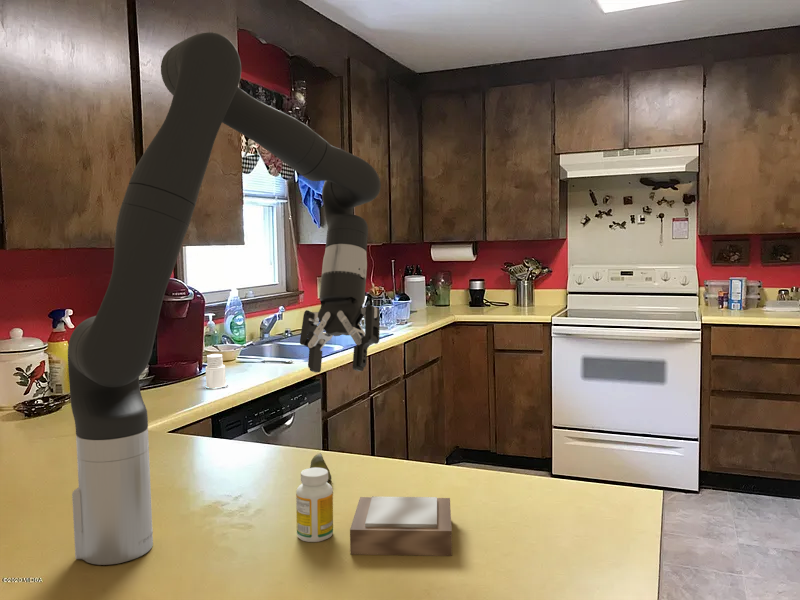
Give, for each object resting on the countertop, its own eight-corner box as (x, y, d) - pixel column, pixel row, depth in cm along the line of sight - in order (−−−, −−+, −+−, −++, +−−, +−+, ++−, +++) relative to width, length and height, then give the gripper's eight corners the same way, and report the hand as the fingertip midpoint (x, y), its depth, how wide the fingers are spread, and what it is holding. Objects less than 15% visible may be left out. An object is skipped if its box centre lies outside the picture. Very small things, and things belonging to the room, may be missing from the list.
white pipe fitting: (210, 383, 209) (209, 352, 208) (232, 384, 208) (230, 352, 207) (199, 390, 201) (198, 358, 200) (222, 390, 200) (220, 358, 199)
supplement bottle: (295, 544, 95) (294, 478, 94) (297, 528, 101) (296, 466, 100) (333, 542, 96) (332, 477, 95) (333, 526, 101) (332, 465, 100)
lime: (320, 474, 124) (319, 448, 124) (340, 479, 122) (339, 452, 121) (303, 481, 121) (303, 454, 120) (323, 486, 118) (323, 459, 118)
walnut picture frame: (350, 554, 92) (349, 526, 92) (360, 518, 104) (359, 493, 103) (451, 555, 91) (451, 527, 91) (450, 519, 103) (449, 494, 103)
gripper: (296, 274, 112) (287, 368, 108) (367, 264, 105) (360, 365, 101) (322, 286, 119) (314, 376, 114) (391, 278, 112) (385, 373, 107)
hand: (336, 371), depth 108 cm, fingers open, 8 cm apart
